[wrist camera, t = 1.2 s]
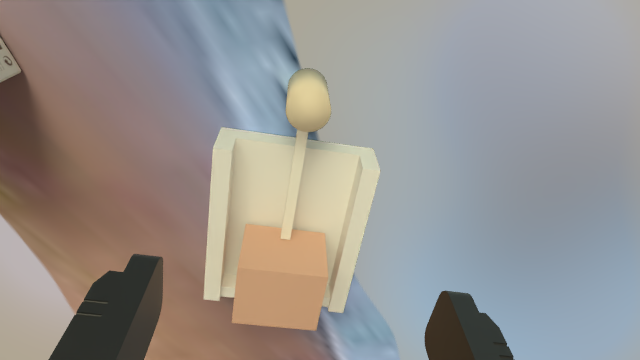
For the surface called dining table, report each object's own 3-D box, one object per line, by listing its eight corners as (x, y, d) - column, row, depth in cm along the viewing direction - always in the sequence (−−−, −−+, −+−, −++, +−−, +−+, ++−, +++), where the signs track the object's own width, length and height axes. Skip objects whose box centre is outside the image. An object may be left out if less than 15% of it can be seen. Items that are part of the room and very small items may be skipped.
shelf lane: (221, 127, 32) (212, 147, 29) (373, 148, 33) (380, 170, 30) (211, 269, 38) (203, 299, 35) (339, 283, 39) (342, 313, 36)
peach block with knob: (264, 61, 29) (256, 90, 24) (356, 75, 29) (367, 107, 24) (241, 266, 37) (231, 322, 32) (313, 274, 37) (316, 330, 32)
